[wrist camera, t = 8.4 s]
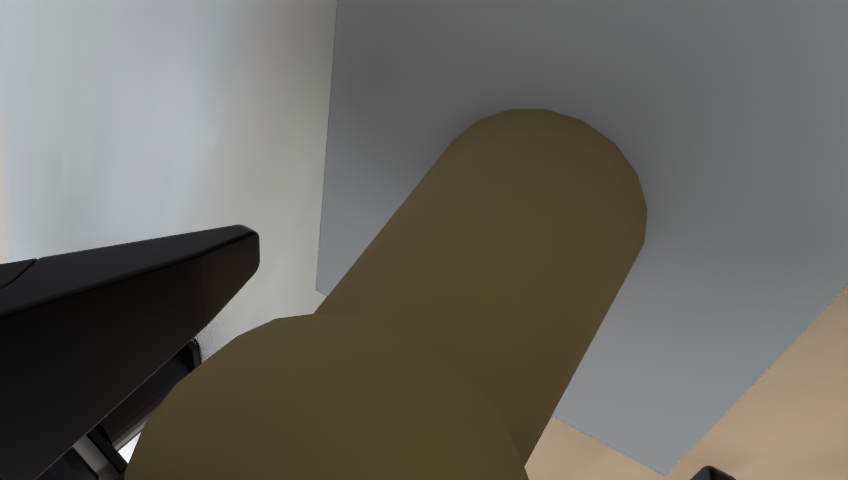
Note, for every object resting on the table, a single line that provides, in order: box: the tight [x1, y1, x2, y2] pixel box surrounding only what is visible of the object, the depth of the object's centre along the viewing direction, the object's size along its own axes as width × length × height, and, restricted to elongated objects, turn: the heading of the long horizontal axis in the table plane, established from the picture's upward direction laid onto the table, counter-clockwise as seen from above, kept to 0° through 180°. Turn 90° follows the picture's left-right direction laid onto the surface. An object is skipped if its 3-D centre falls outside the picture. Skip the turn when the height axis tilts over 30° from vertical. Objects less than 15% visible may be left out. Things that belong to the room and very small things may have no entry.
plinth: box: [316, 0, 848, 476], centre depth 14 cm, size 14×14×2 cm
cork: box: [124, 109, 648, 480], centre depth 9 cm, size 6×6×11 cm
